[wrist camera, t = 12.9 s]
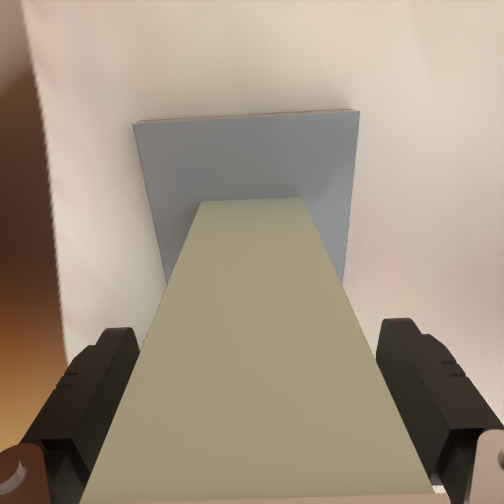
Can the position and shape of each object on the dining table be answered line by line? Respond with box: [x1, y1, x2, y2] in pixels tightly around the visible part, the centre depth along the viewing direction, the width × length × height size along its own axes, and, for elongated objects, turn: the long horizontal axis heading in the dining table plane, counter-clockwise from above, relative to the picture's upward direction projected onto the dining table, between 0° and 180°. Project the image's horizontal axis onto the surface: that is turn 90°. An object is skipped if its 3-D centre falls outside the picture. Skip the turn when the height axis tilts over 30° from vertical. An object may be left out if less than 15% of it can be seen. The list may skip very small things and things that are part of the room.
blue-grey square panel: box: [133, 109, 360, 285], centre depth 17 cm, size 10×12×1 cm
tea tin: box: [79, 197, 451, 504], centre depth 11 cm, size 5×5×14 cm
